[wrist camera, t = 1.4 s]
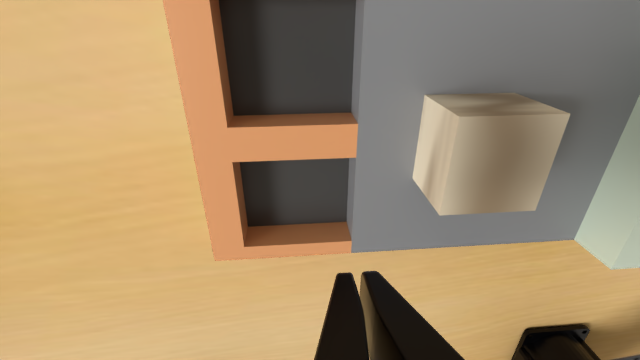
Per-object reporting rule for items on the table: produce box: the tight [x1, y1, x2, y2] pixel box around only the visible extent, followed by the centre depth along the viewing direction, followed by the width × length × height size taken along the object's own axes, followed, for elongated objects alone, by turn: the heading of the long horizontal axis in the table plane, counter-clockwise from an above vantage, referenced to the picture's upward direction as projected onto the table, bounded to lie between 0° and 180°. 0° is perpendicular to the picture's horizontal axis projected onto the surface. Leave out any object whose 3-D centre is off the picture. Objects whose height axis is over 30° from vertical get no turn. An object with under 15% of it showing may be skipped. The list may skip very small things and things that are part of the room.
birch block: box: [413, 93, 570, 215], centre depth 17 cm, size 5×5×4 cm
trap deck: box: [163, 0, 640, 270], centre depth 18 cm, size 28×16×6 cm, turn 90°
